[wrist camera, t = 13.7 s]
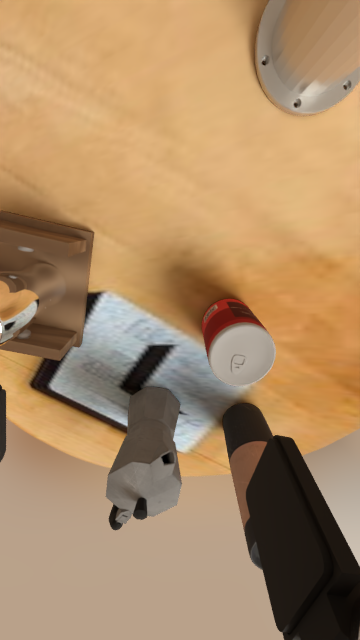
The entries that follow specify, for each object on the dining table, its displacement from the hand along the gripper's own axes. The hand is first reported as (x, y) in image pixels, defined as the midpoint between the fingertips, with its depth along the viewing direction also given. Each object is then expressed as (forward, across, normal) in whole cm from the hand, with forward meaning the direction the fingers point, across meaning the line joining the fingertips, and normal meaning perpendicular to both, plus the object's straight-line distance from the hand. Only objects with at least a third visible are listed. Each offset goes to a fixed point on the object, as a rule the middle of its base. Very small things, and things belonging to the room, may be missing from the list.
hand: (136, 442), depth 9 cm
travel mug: (+31, -18, +22) cm, 42 cm away
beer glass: (+29, +16, +5) cm, 34 cm away
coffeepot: (+31, -2, +24) cm, 39 cm away
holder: (+30, +17, +5) cm, 35 cm away
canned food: (+31, -10, +5) cm, 32 cm away
